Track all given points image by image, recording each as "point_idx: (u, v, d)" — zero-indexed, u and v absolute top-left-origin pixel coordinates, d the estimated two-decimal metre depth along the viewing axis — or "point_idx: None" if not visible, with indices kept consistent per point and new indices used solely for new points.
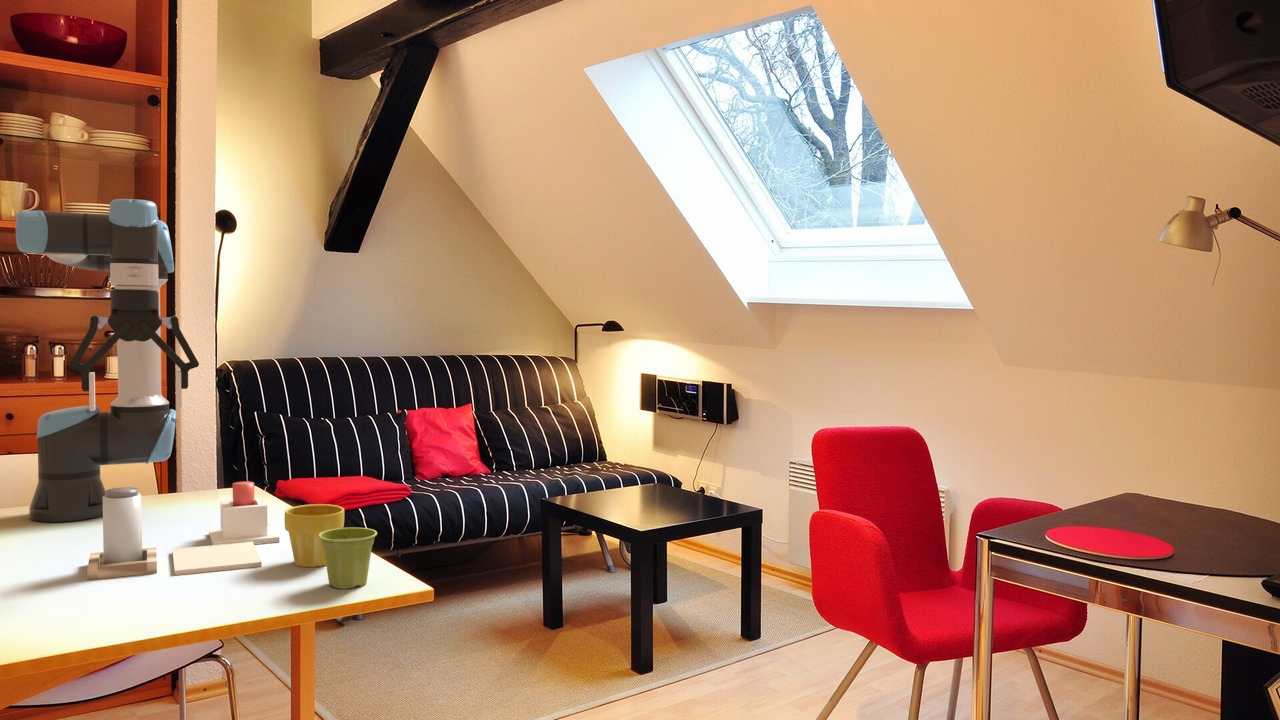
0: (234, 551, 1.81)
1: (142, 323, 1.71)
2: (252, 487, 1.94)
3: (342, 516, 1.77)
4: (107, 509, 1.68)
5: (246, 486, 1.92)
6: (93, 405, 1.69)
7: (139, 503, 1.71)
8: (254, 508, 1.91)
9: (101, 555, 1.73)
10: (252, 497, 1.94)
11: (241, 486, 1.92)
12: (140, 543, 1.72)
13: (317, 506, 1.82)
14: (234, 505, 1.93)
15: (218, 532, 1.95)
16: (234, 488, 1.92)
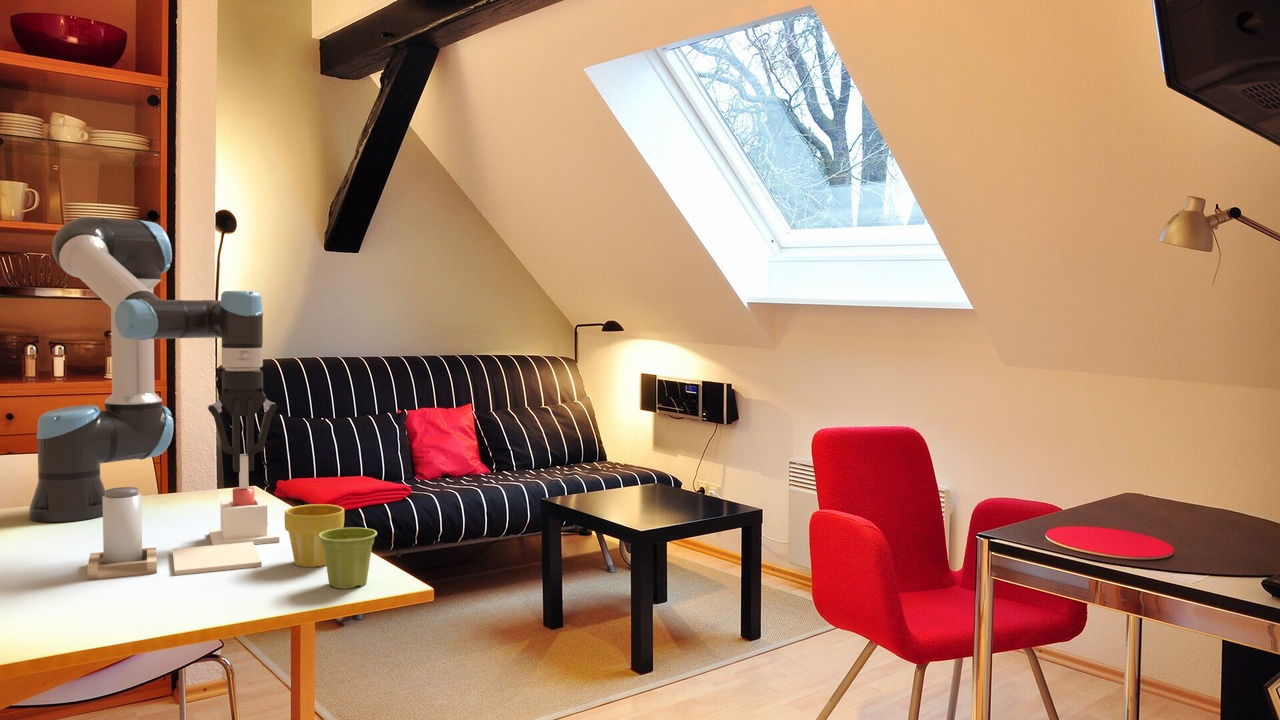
0: (234, 551, 1.81)
1: (251, 400, 1.92)
2: (252, 492, 1.94)
3: (342, 516, 1.77)
4: (107, 509, 1.68)
5: (246, 491, 1.92)
6: (243, 484, 1.93)
7: (139, 503, 1.71)
8: (254, 508, 1.91)
9: (101, 555, 1.73)
10: (252, 502, 1.94)
11: (241, 491, 1.92)
12: (140, 543, 1.72)
13: (317, 506, 1.82)
14: None
15: (218, 532, 1.95)
16: (234, 493, 1.92)
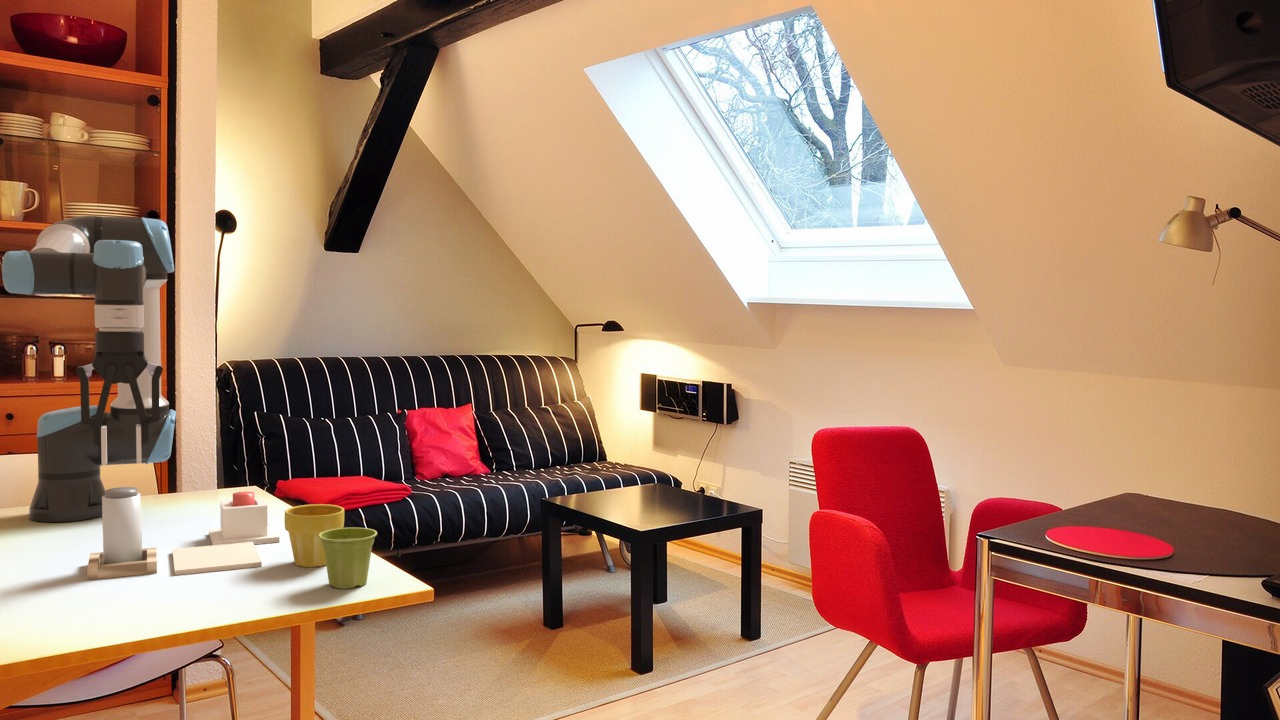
0: (234, 551, 1.81)
1: (128, 365, 1.68)
2: (252, 497, 1.94)
3: (342, 516, 1.77)
4: (107, 509, 1.68)
5: (246, 496, 1.92)
6: (105, 460, 1.68)
7: (139, 503, 1.71)
8: (254, 508, 1.91)
9: (101, 555, 1.73)
10: None
11: (241, 496, 1.92)
12: (140, 543, 1.72)
13: (317, 506, 1.82)
14: None
15: (218, 532, 1.95)
16: (234, 498, 1.92)
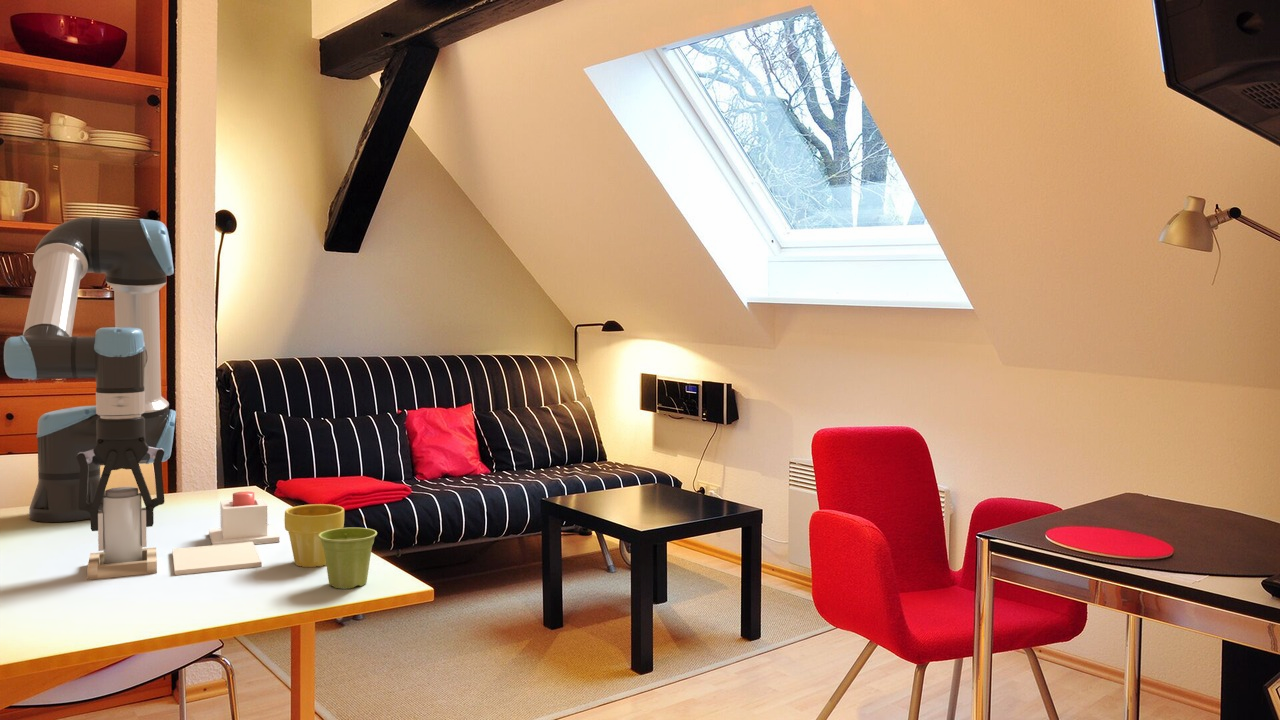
0: (234, 551, 1.81)
1: (129, 451, 1.69)
2: (252, 497, 1.94)
3: (342, 516, 1.77)
4: (107, 509, 1.68)
5: (246, 496, 1.92)
6: (102, 545, 1.69)
7: (139, 503, 1.71)
8: (254, 508, 1.91)
9: (101, 555, 1.73)
10: None
11: (241, 496, 1.92)
12: (140, 543, 1.72)
13: (317, 506, 1.82)
14: None
15: (218, 532, 1.95)
16: (234, 498, 1.92)
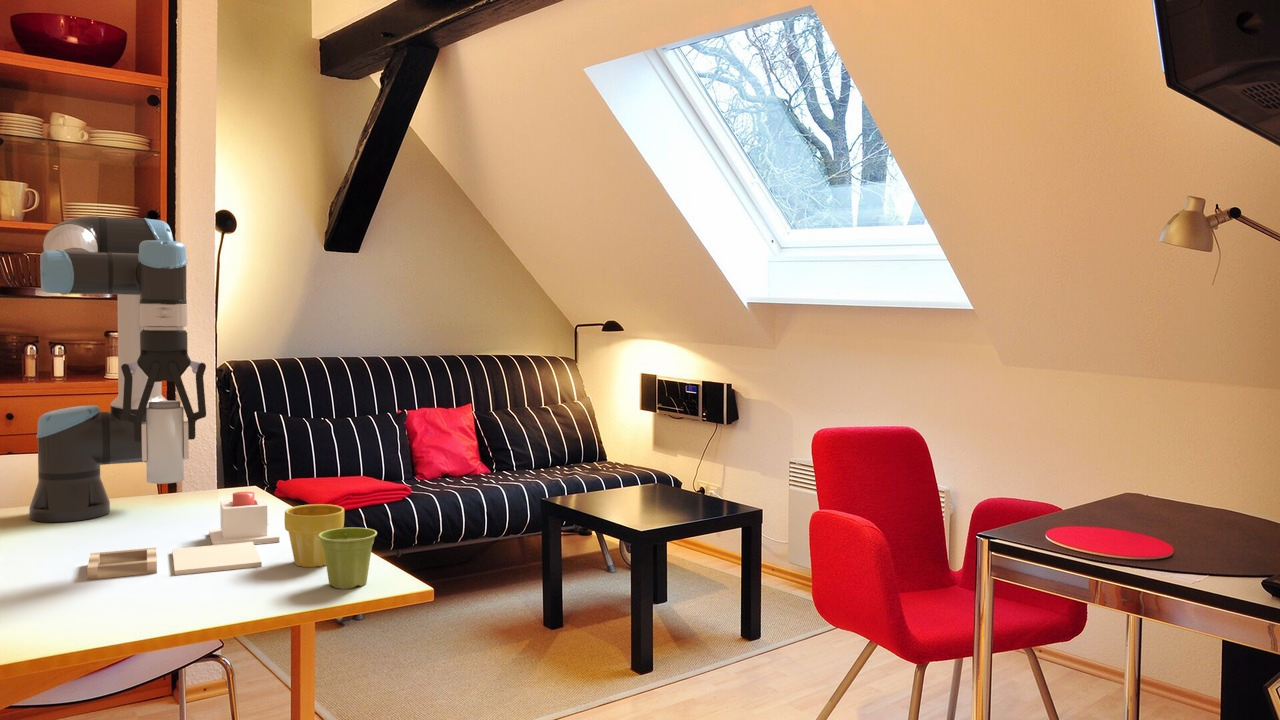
0: (234, 551, 1.81)
1: (172, 363, 1.71)
2: (252, 497, 1.94)
3: (342, 516, 1.77)
4: (151, 420, 1.70)
5: (246, 496, 1.92)
6: (145, 455, 1.71)
7: (181, 415, 1.73)
8: (254, 508, 1.91)
9: (101, 555, 1.73)
10: None
11: (241, 496, 1.92)
12: (182, 455, 1.74)
13: (317, 506, 1.82)
14: None
15: (218, 532, 1.95)
16: (234, 498, 1.92)
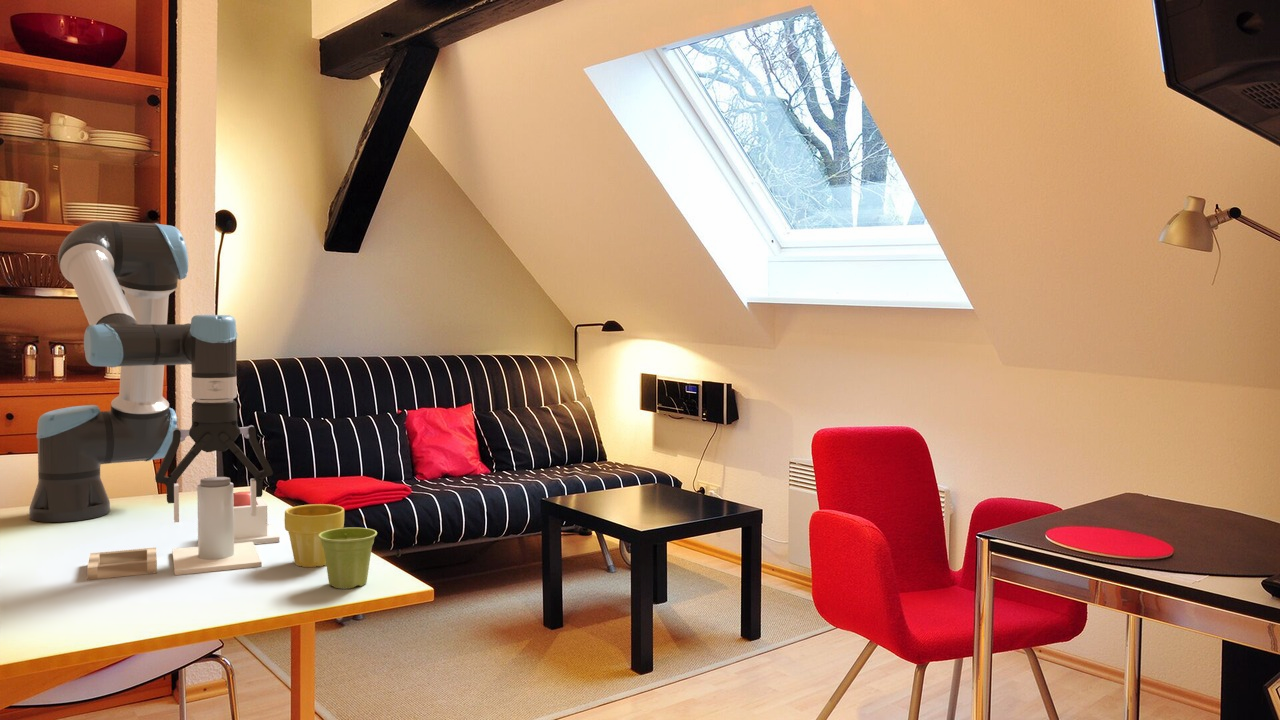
0: (234, 551, 1.81)
1: (222, 434, 1.76)
2: None
3: (342, 516, 1.77)
4: (203, 497, 1.75)
5: (246, 496, 1.92)
6: (178, 517, 1.74)
7: (232, 492, 1.78)
8: None
9: (101, 555, 1.73)
10: None
11: (241, 496, 1.92)
12: (232, 530, 1.79)
13: (317, 506, 1.82)
14: None
15: None
16: (234, 498, 1.92)
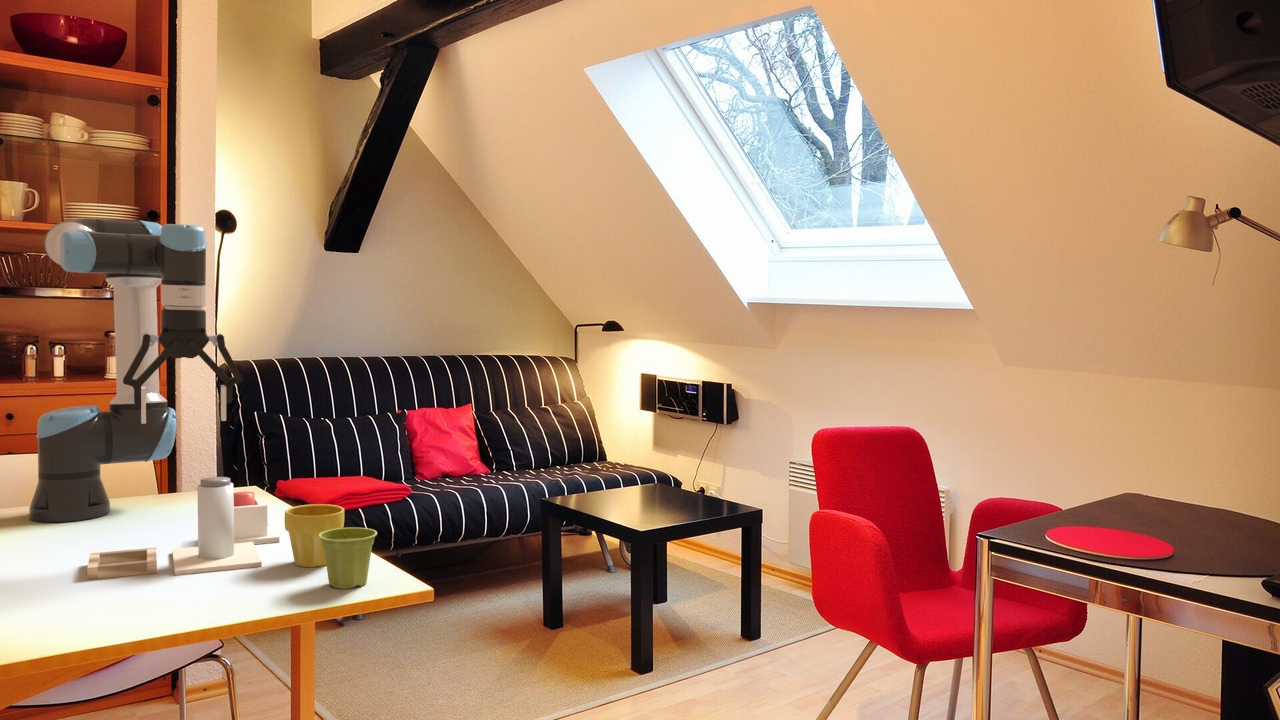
0: (234, 551, 1.81)
1: (191, 341, 1.81)
2: (252, 497, 1.94)
3: (342, 516, 1.77)
4: (203, 497, 1.75)
5: (246, 496, 1.92)
6: (145, 418, 1.79)
7: (232, 492, 1.78)
8: (254, 508, 1.91)
9: (101, 555, 1.73)
10: None
11: (241, 496, 1.92)
12: (233, 530, 1.79)
13: (317, 506, 1.82)
14: None
15: None
16: (234, 498, 1.92)
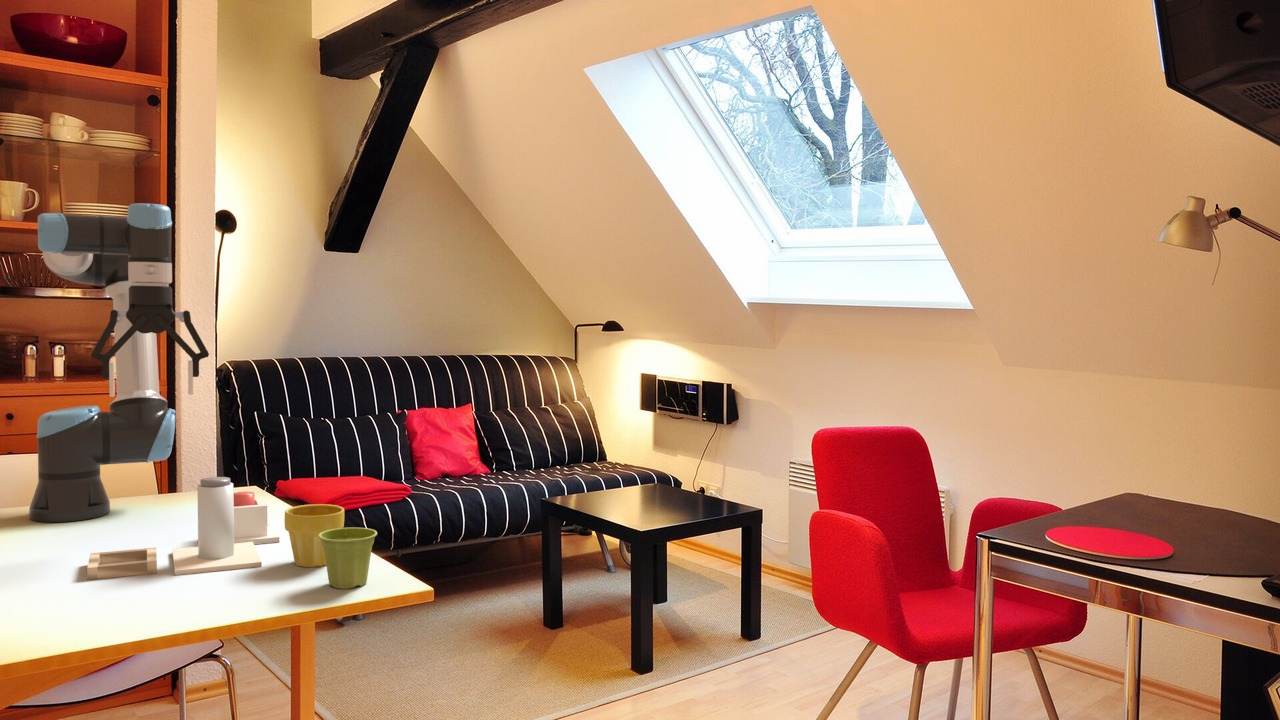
0: (234, 551, 1.81)
1: (157, 317, 1.87)
2: (252, 497, 1.94)
3: (342, 516, 1.77)
4: (203, 497, 1.75)
5: (246, 496, 1.92)
6: (113, 391, 1.85)
7: (232, 492, 1.78)
8: (254, 508, 1.91)
9: (101, 555, 1.73)
10: None
11: (241, 496, 1.92)
12: (233, 530, 1.79)
13: (317, 506, 1.82)
14: None
15: None
16: (234, 498, 1.92)
